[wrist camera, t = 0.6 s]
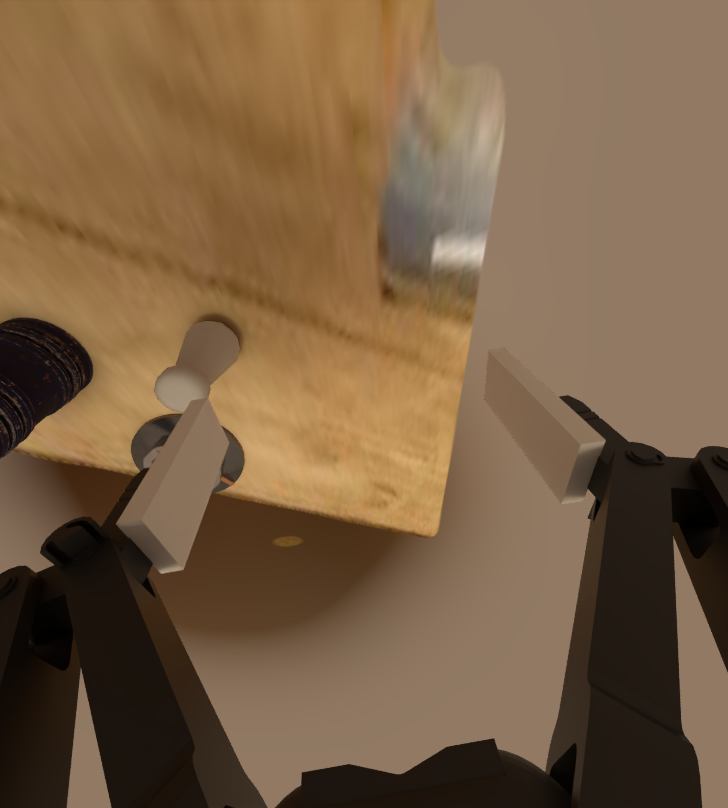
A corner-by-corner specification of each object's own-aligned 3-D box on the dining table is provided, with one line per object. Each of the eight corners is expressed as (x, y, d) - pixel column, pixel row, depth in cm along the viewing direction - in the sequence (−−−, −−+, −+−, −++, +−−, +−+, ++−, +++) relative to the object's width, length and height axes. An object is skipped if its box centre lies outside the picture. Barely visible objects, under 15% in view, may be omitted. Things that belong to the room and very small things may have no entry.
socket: (112, 457, 47) (99, 474, 44) (172, 394, 43) (161, 408, 40) (205, 503, 54) (199, 520, 51) (265, 454, 50) (261, 469, 47)
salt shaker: (185, 315, 37) (128, 368, 26) (237, 312, 38) (202, 364, 27) (200, 361, 41) (155, 425, 30) (248, 359, 41) (220, 421, 30)
